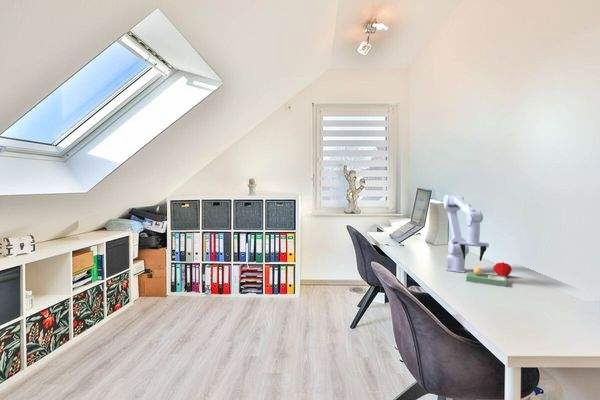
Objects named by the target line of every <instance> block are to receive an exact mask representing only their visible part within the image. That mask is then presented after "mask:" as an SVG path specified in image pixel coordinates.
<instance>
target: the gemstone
mask: <svg viewBox="0 0 600 400" xmlns="http://www.w3.org/2000/svg"><path fill="white" fill-rule="evenodd" d="M512 270H513V268H512V267H511V265H510V264H508V263H506V262H496V263H495V264H494V266H493V273H495V275H500V276H506V278H507V277H508V276H509V275H510V274H511V272H512Z"/></svg>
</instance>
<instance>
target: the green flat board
mask: <svg viewBox="0 0 600 400" xmlns="http://www.w3.org/2000/svg"><path fill="white" fill-rule="evenodd" d="M507 279H508V278H507V277H506V276H500V275H497V274H490V273H483V272H482V274H481V275H476V274H475V273H474V271H467V274H466V279H465V281H466V282H470V283H475V284H476V283H478V284H484V285H490V286H499V287H504V288H505V287H507V285H508V281H507Z"/></svg>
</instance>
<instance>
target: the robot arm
mask: <svg viewBox="0 0 600 400" xmlns="http://www.w3.org/2000/svg"><path fill="white" fill-rule="evenodd" d="M442 201H443V207H444V210H445V211H446V213H447V218H448V219H447V220H448V223H449V228H450V234H451V239H450V240H449V241H448V242H447V246H448V247H447V250H448V251H447V252H448V254H446V255H447V256H446V271H449V272H457V273H465V272H466V270H467V269H466V267H465V266H466V263H465V262H466V256H467V255H468V254H469V251H470V247H477V248H478V247H479V252H480V253H479V262H482V260H483V259H482V258H483V257H484V254H485V252H486V250H487V249H488V248H489V247H490V243H488V242H482V241H481V242H480V233H481V232H480V231H481V223H482V221H483V220H484V215H483V212H482V211H481V210H476V209H475V208H474V207H473V206H472V205H471V204H470V203H466V201H465V199H464V196H463V194H444V196H443V200H442ZM460 210H461V213H462V214H463V215H464V216H465V220H466V225H467V236H466V238H467V240H466V239H465V238H463V237H462V234H461V227H460V223H459V218H458V211H460Z"/></svg>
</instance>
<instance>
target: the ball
mask: <svg viewBox="0 0 600 400" xmlns="http://www.w3.org/2000/svg"><path fill="white" fill-rule="evenodd" d="M473 272H474V273H475V274H476V275H481V274H482V273H483V270H482V268H480V267H475V268H474V269H473Z"/></svg>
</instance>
